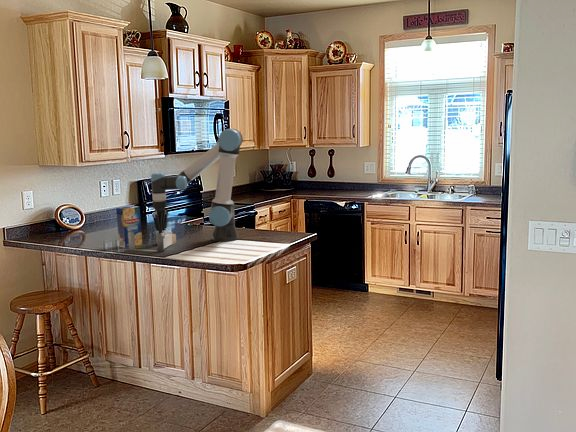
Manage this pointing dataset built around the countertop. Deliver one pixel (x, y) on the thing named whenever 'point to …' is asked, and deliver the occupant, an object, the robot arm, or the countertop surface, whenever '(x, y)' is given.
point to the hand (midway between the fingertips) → (162, 241)
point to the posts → (160, 244)
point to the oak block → (172, 238)
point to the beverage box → (129, 225)
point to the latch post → (131, 241)
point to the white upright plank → (167, 239)
